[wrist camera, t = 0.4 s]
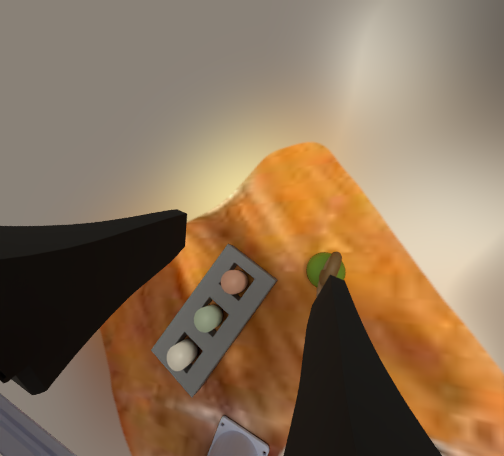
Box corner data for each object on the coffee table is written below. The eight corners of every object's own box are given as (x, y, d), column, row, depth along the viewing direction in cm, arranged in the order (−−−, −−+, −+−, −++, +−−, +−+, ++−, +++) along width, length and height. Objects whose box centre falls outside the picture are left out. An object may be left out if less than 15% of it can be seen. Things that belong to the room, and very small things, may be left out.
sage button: (214, 332, 34) (206, 337, 31) (198, 317, 35) (189, 321, 32) (227, 314, 34) (220, 318, 31) (211, 299, 35) (203, 302, 33)
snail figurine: (299, 285, 34) (296, 292, 23) (313, 248, 35) (317, 237, 23) (332, 300, 33) (348, 315, 21) (346, 261, 33) (369, 256, 22)
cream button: (188, 368, 34) (178, 376, 31) (173, 351, 35) (162, 358, 32) (201, 349, 34) (192, 356, 31) (186, 334, 35) (176, 339, 32)
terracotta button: (239, 297, 34) (233, 299, 32) (223, 283, 35) (216, 284, 33) (252, 279, 34) (247, 279, 32) (235, 265, 36) (230, 265, 33)
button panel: (199, 389, 35) (191, 397, 32) (160, 345, 38) (151, 350, 35) (277, 280, 35) (275, 280, 33) (232, 245, 38) (228, 243, 36)
